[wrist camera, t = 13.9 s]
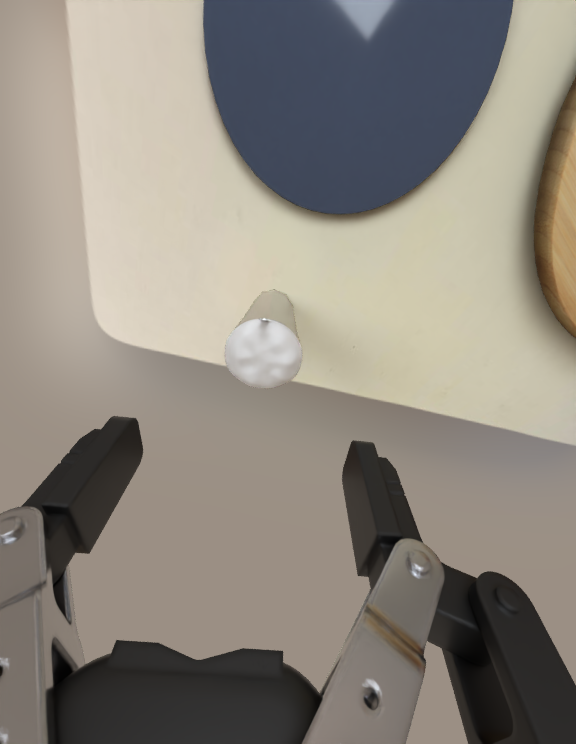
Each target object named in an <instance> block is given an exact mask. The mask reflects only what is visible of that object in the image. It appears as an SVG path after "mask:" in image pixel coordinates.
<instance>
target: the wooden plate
mask: <svg viewBox="0 0 576 744" xmlns="http://www.w3.org/2000/svg"><path fill="white" fill-rule="evenodd" d="M534 249H535V261H536V267H537V273H538V277H539V281H540V284H541V288H542V291H543V294H544V296H545V298H546V300H547V302H548V304H549V306H550V308H551V310H552V312H553V313H554V315H555V317H556V318H557V319H558V321H559V322H560V323H561V324H562V326H563V327H564V328H565V329H566V330H567V331H568V332H569V333H570V334H571V335H572V336H574V337H575V338H576V77H575V79H574V81H573V83H572V85H571V88H570V90H569V92H568V94H567V97H566V99H565V101H564V103H563V106H562V108H561V111H560V114H559V116H558V119H557V122H556V125H555V128H554V131H553V134H552V137H551V141H550V144H549V148H548V151H547V155H546V158H545V163H544V167H543V171H542V175H541V180H540V184H539V191H538V197H537V204H536V211H535V221H534Z"/></svg>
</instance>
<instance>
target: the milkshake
mask: <svg viewBox="0 0 576 744" xmlns="http://www.w3.org/2000/svg"><path fill="white" fill-rule="evenodd" d="M225 361H226V364H227V367H228V369H229V371H230V372H231V374H232V375H233V376H234V377H236V378H237V379H239V380H240V381H242V382H243V383H244V384H246V385H248V386H251V387H255V388H264V389H270V388H275V387H278V386H281V385H283V384H285V383H287V382H289V381H291V380H292V379H293V378H294V377H295V376H296V374H297V373H298V371H299V369H300V366H301V362H302V348H301V345H300V341H299V337H298V332H297V327H296V321H295V315H294V309H293V305H292V303H291V302H290V300H289V298H288V296H287V295H286V294H284V293H282V292H280V291H277V290H275V289H273V290H269V291H264V292H261V294H260V295H259V296H258V297H257V298H256V299H255V301H254V302H253V303H252V305H251V306H250V308H249V309H248V311H247V313H246V314H245V316H244V317H243V318H242V320H241V321H240V322H239V323H238V325H237V326H236V327H235V329H234V330H233V331H232V332H231V334H230V335H229V337H228V339H227V341H226V345H225Z"/></svg>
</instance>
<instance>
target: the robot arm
mask: <svg viewBox="0 0 576 744" xmlns="http://www.w3.org/2000/svg"><path fill="white" fill-rule="evenodd" d="M142 455H143V446H142V441H141V435H140V430H139V425H138V421H137V420H136V418H128V417H118V416H113V417H111V418H110V419H109V420H108V422H107V423H106V424H105V425H104V427H103V428H102V429H101V430H100V429H94V430H93V431H91V432H90V433H88V434H87V435H85V436H84V437H82V438H81V439H79V441H78V442H77V443H76V444H75V445H74V446H73V448H72V449H71V450H70V453H68V454H67V455H66V456H65V457H64V458H63V459H62V460H61V463H60V464H58V465H57V466H56V467H55V468H54V470H53V471H52V472H51V473H50V475H49V476H48V477H47V478H46V479H45V480H44V481H43V482H42V484H41V485H40V486H39V487H38V488H37V489H36V491H35V492H34V493H33V494H32V495H31V497H30V498H29V499H28V500H27V501H26V502H25V503H24V504H23V505H22V506H21V507H17V508H14V509H10V510H8V511H5V512H3V513H1V514H0V744H406V740H407V737H408V733H409V729H410V726H411V722H412V718H413V715H414V711H415V707H416V704H417V700H418V696H419V692H420V689H421V685H422V682H423V678H424V673H425V668H426V667H425V666H426V660H425V659H424V655H423V654H424V649H425V645H426V642H427V641H428V642H430V643H432V644H434V645H436V646H438V647H440V648H442V651H443V654H444V658H445V661H446V665H447V669H448V672H449V676H450V680H451V683H452V686H453V690H454V694H455V697H456V701H457V705H458V708H459V712H460V715H461V719H462V723H463V726H464V730H465V733H466V737H467V741H468V744H576V685H575V683H574V681H573V679H572V678H571V676H570V674H569V672H568V670H567V668H566V666H565V664H564V663H563V661H562V659H561V657H560V655H559V653H558V651H557V649H556V647H555V645H554V644H553V642H552V640H551V638H550V636H549V634H548V632H547V631H546V629H545V627H544V625H543V623H542V621H541V619H540V617H539V615H538V613H537V611H536V610H535V608H534V606H533V604H532V602H531V601H530V599H529V598H528V597H527V595H526V594H525V593H524V591H523V590H522V589H521V588H520V587H519V586H518V585H517V584H516V583H514V582H513V581H512V580H510V579H509V578H507V577H505V576H503V575H502V574H499V573H496V572H484V573H482V574H481V575H480V576H479V577H478V578H475V577H473V576H470V575H468V574H466V573H463V572H461V571H458V570H456V569H454V568H451V567H449V566H447V565H445V564H443V563H442V562H440V560H439V558H438V557H437V555H436V554H435V553H434V552H433V551H432V550H431V549H430V548H429V547H428V546H427V545H425V544H424V543H423V541H422V539H421V537H420V534H419V532H418V529H417V526H416V523H415V521H414V518H413V515H412V513H411V510H410V507H409V504H408V501H407V499H406V496H404V494H405V493H404V490H403V488H402V485H401V484H400V483H401V482H400V479H399V477H398V474H397V471H396V469H395V468H394V467H393V465H392V464H391V463H390V462H389V461H388V459H387V458H382V457H378V454H377V451H376V448H375V445H374V443H372V442H364V441H352V442H351V445H350V448H349V451H348V455H347V458H346V461H345V464H344V467H343V475H342V482H343V489H344V495H345V501H346V507H347V513H348V519H349V525H350V531H351V537H352V543H353V550H354V555H355V561H356V567H357V574H358V576H366V577H369V582H370V587H371V589H370V591H369V593H368V595H367V597H366V599H365V601H364V604H363V606H362V607H361V610H360V612H359V614H358V616H357V618H356V620H355V622H354V624H353V626H352V628H351V631H350V632H349V634H348V636H347V638H346V641H345V643H344V645H343V647H342V649H341V651H340V653H339V654H338V656H337V658H336V660H335V662H334V664H333V666H332V668H331V670H330V673H329V674H328V677H327V678H326V681H325V683H324V685H323V687H322V689H321V691H320V693H319V692H318V691H317V689H316V688H315V687H314V686H313V685H312V684H311V683H310V681H309V680H308V679H307V678H306V677H304V676H303V675H302V674H301V673H300V672H299V671H297V670H296V669H294V668H293V667H291V666H289V665H287V664H285V663H283V651H274V650H259V649H244V648H243V649H240V650H235V651H233V652H228V653H225V654H221V655H218V656H214V657H210V658H207V659H203V660H195V659H192V658H190V657H188V656H186V655H184V654H181V653H179V652H177V651H175V650H172V649H170V648H168V647H166V646H164V645H162V644H159V643H151V642H136V641H120V640H117V641H116V643H115V645H114V648H113V650H112V653H111V654H107V655H105V656H102V657H100V658H97V659H95V660H93V661H91V662H89V663H88V664H86V665H85V660H84V654H83V650H82V646H81V642H80V639H79V636H78V632H77V627H76V621H75V620H76V619H75V612H74V603H73V595H72V586H71V579H70V570H69V565H68V564H69V562H70V560H71V559H72V557H73V555H74V554H75V553H87V554H88V553H90V552H91V549H92V548H93V546H94V544H95V543H96V541H97V539H98V537H99V535H100V534H101V532H102V530H103V528H104V527H105V525H106V523H107V521H108V520H109V518H110V516H111V514H112V512H113V511H114V509H115V507H116V505H117V504H118V502H119V500H120V498H121V496H122V495H123V493H124V491H125V489H126V488H127V486H128V484H129V482H130V480H131V479H132V477H133V475H134V473H135V472H136V470H137V468H138V466H139V464H140V462H141V459H142Z"/></svg>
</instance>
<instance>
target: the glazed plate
mask: <svg viewBox="0 0 576 744" xmlns="http://www.w3.org/2000/svg"><path fill="white" fill-rule="evenodd" d="M512 7H513V0H204V11H203V27H204V41H205V53H206V60H207V66H208V72H209V78H210V82H211V86H212V89H213V93H214V97H215V101H216V104H217V107H218V109H219V112H220V115H221V118H222V120H223V123H224V125H225V127H226V129H227V131H228V133H229V136H230V138H231V140H232V142H233V144H234V145H235V147H236V148H237V150H238V152H239V153H240V155H241V156H242V158H243V159H244V161H245V162H246V163H247V165H248V166H249V167H250V168H251V170H252V171H253V172H254V173H255V174H256V176H257V177H259V178H260V179H261V180H262V181H263V182H264V183H265V184H266V185H267V186H268V187H269V188H270V189H272V190H273V191H274V192H276V193H277V194H278V195H280V196H281V197H283V198H284V199H286V200H288V201H290V202H292V203H294V204H295V205H298V206H300V207H303V208H306V209H309V210H311V211H316V212H321V213H326V214H351V213H359V212H363V211H368V210H372V209H375V208H378V207H380V206H383V205H385V204H388V203H390V202H392V201H394V200H396V199H397V198H399V197H401V196H403V195H405V194H406V193H408V192H409V191H410V190H412V189H413V188H415V187H416V186H418V185H419V184H420V183H421V182H423V181H424V180H425V179H426V178H427V177H428V176H429V175H431V174H432V173H433V172H434V171H435V170H436V169H437V168H438V167H439V166H440V165H441V164H442V162H443V161H444V160H445V159H446V158H447V157H448V156H449V155H450V153H451V152H452V151H453V150H454V148H455V147H456V146H457V144H458V143H459V142H460V140H461V139H462V138H463V136H464V135H465V133H466V131H467V130H468V128H469V126H470V125H471V123H472V122H473V120H474V118H475V117H476V115H477V113H478V111H479V109H480V107H481V105H482V103H483V101H484V99H485V97H486V95H487V93H488V91H489V88H490V86H491V83H492V80H493V78H494V75H495V73H496V70H497V68H498V65H499V61H500V58H501V55H502V51H503V48H504V45H505V41H506V37H507V32H508V28H509V23H510V18H511V13H512Z"/></svg>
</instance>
